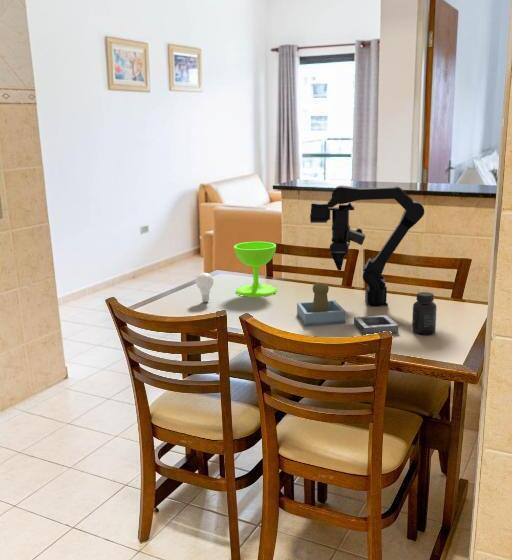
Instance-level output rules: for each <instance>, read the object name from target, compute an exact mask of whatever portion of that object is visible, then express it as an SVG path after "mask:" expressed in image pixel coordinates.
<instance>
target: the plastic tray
mask: <svg viewBox="0 0 512 560" xmlns="http://www.w3.org/2000/svg"><path fill="white" fill-rule="evenodd" d="M328 305H329V311H327V312H312V308H313V301H303V302H302V301H301V302H296V314H297V316H298V317H299V319H300V321H301V322H302V323H303V324H304V326H305V327H309V326H311V327H312V326H325V325H336V324H337V325H338V324H340V325H341V324H346V310H345V308H343V307H342V306H341V305H340V303H338V302H337V301H336V300H335V299H331V300H330V299H328Z"/></svg>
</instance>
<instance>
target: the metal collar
mask: <svg viewBox="0 0 512 560" xmlns="http://www.w3.org/2000/svg"><path fill="white" fill-rule="evenodd" d="M353 325H354V326H355V328H356V329H357V330H358V331H359V332H360V333H361V334H362V335H363V336H364V335H366V334H374V333H379V332H383V331H391V332H392V334H391V335H393V334H399V324H398V323H396V321H394V320H393V319H392V318H391V317H390V316H388V315H387V314H383V315H380V314H379V315H369V316H355V317H353Z"/></svg>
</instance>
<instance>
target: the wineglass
mask: <svg viewBox="0 0 512 560" xmlns="http://www.w3.org/2000/svg"><path fill="white" fill-rule="evenodd" d="M233 249H234V250H233V251H234V253H235V255H236V257H237V259H238V260H239V261H240V262H241V263H242V264H244V265H245V266H249V267H252V272H253V282H252V284H247V285H246V284H245V285H243V286H242V285H241V286H240V287H238V288H237V289H236V290H235V294H236V293H237V294H239V295H243V296H249V297H248V298H262V297H261V296H266V297H269V296H268V295H271V296H273V295H272V294H274V293H275V294H277V293H278V290H277V288H276V287H274V285H271V284H270V285H269V284H261V283H260V282H259V267H262V266H265V265H267V264H268V263H269V262H271V260H272V259H273V257H274V255H275V253H276V250H277V244H276V243H273V242H269V241H246V242H241V243H236V244H235V245H234V246H233ZM276 292H277V293H276ZM237 294H236V295H237ZM275 294H274V295H275ZM239 295H238V296H239ZM243 296H242V297H243Z"/></svg>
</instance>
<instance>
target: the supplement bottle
mask: <svg viewBox="0 0 512 560" xmlns="http://www.w3.org/2000/svg"><path fill="white" fill-rule="evenodd" d="M437 310H438V308H437V304H436V303H435V301H434V293H431V292H429V291H421V292H420V291H419V292H417V293H416V301H415V302H414V303H413V305H412V317H411V318H412V320H411V321H412V324H411V331H412V333H413V334H415V335H417V336H424V337H425V336H427V337H428V336H433V335H434V334H436V331H437V329H436V328H437Z"/></svg>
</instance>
